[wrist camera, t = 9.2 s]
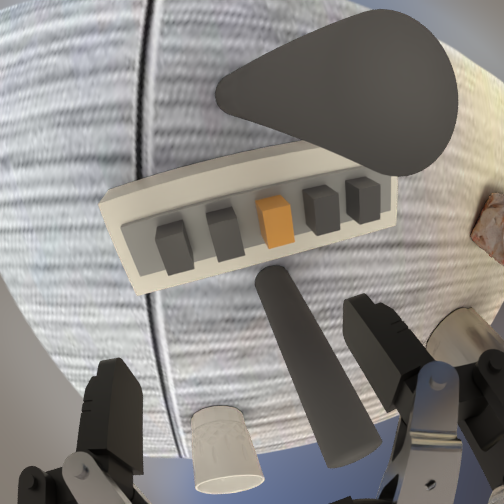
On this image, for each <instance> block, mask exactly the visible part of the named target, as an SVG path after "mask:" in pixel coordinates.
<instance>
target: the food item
mask: <svg viewBox="0 0 504 504" xmlns="http://www.w3.org/2000/svg"><path fill="white" fill-rule="evenodd" d="M491 194H492V195H489V198H488V200H487V202H486V203H485V205H484V207H483V209H482V211H481V214H480V216H479V218H478V220H477V222H476V224H475V227H474V229H473V231H472V233H471V236H470V237H472V240H473V241H474V242H475V243H476V244H477V245H478V246H479V247H480V248H482V249H483V250H485V251H486V252H487V253H488V254H489V256H490V257H493V258H494V259H495V260H496V261H498V262H499V263H500V264H502V265H503V266H504V195H503V194H500V193H491Z"/></svg>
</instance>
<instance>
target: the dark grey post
mask: <svg viewBox="0 0 504 504" xmlns="http://www.w3.org/2000/svg"><path fill="white" fill-rule="evenodd" d="M215 98H216V102H217V104H218V106H219V107H220V108H221V109H222V110H223V111H224V112H225V113H227V114H229V115H232V116H236V117H239V118H242V119H245V120H248V121H251V122H254V123H257V124H260V125H263V126H266V127H269V128H272V129H274V130H277V131H280V132H283V133H285V134H288V135H291V136H293V137H296V138H299V139H301V140H304V141H306V142H309V143H311V144H314V145H316V146H319V147H321V148H324V149H326V150H328V151H331V152H333V153H335V154H338V155H340V156H342V157H345V158H347V159H349V160H351V161H354V162H356V163H358V164H360V165H362V166H364V167H366V168H369V169H371V170H373V171H375V172H378V173H380V174H383V175H388V176H396V177H401V176H408V175H412V174H415V173H418V172H420V171H422V170H424V169H425V168H427V167H428V166H430V165H431V164H432V163H433V162H434V161H436V159H437V158H438V157H439V156H440V155H441V154H442V152H443V151H444V149H445V148H446V146H447V144H448V143H449V141H450V139H451V136H452V134H453V131H454V127H455V124H456V119H457V113H458V90H457V83H456V78H455V74H454V71H453V68H452V65H451V63H450V60H449V58H448V56H447V54H446V52H445V50H444V49H443V47H442V46H441V44H440V43H439V41H438V40H437V39H436V38H435V36H434V35H433V34H432V33H431V32H430V31H429V30H428V29H427V28H426V27H425V26H423V25H422V24H420V22H418V21H416V20H415V19H413V18H411V17H410V16H408V15H405V14H403V13H400V12H397V11H393V10H385V9H377V10H370V11H366V12H363V13H360V14H357V15H354V16H351V17H348V18H346V19H343V20H340V21H338V22H335V23H332V24H330V25H327V26H325V27H323V28H320V29H318V30H315V31H313V32H311V33H308V34H306V35H304V36H302V37H300V38H297V39H295V40H293V41H291V42H289V43H287V44H285V45H283V46H281V47H278V48H276V49H274V50H273V51H271V52H269V53H267V54H265V55H263V56H261V57H259V58H257V59H255V60H253V61H252V62H250V63H248V64H246V65H244V66H243V67H241V68H239V69H237V70H236V71H234V72H232V73H231V74H229V75H227V76H226V77H224V78H223V79H222V80H221V81H220V82H219V83H218V85H217V87H216V91H215Z"/></svg>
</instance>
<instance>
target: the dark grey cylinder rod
mask: <svg viewBox="0 0 504 504" xmlns="http://www.w3.org/2000/svg"><path fill="white" fill-rule="evenodd" d="M255 287H256V289H257V292H258V294H259V297H260V300H261V302H262V305H263V307H264V310H265V312H266V315H267V317H268V320H269V322H270V325H271V328H272V330H273V333H274V335H275V338H276V340H277V343H278V345H279V348H280V350H281V353H282V355H283V358H284V360H285V363H286V365H287V368H288V370H289V373H290V375H291V378H292V380H293V383H294V385H295V388H296V390H297V393H298V395H299V398H300V400H301V403H302V405H303V408H304V410H305V413H306V415H307V418H308V420H309V423H310V425H311V428H312V430H313V433H314V435H315V438H316V440H317V443H318V445H319V447H320V450H321V452H322V455H323V457H324V460H325V462H326V465H327V467H328V468H338V467H342V466H345V465H348V464H351V463H353V462H356V461H358V460H360V459H362V458H364V457H365V456H367V455H369V454H370V453H372V452H373V451H374V450H376V449H377V448H378V447H379V446H380V445H381V444H382V439H381V438H380V436H379V434H378V432H377V430H376V428H375V426H374V424H373V422H372V421H371V419H370V417H369V415H368V413H367V411H366V409H365V408H364V406H363V404H362V402H361V400H360V398H359V397H358V395H357V393H356V391H355V389H354V388H353V386H352V384H351V382H350V380H349V378H348V377H347V375H346V373H345V371H344V369H343V368H342V366H341V364H340V362H339V360H338V359H337V357H336V355H335V353H334V352H333V350H332V348H331V346H330V344H329V343H328V341H327V339H326V337H325V336H324V334H323V332H322V330H321V328H320V327H319V325H318V323H317V321H316V320H315V318H314V316H313V314H312V313H311V311H310V309H309V307H308V306H307V304H306V302H305V300H304V299H303V297H302V295H301V294H300V292H299V290H298V288H297V287H296V285H295V283H294V281H293V280H292V278H291V276H290V275H289V273H288V271H287V270H286V269H285V268H284V267H281V266H277V265H274V266H269V267H266V268H265V269H263V270H262V271H261V272H260V273H259V274H258V275H257V277H256V279H255Z"/></svg>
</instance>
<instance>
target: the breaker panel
mask: <svg viewBox="0 0 504 504" xmlns="http://www.w3.org/2000/svg"><path fill="white" fill-rule="evenodd" d="M397 187H398V177H396V176H388V175H383V174H380V173H378V172H375V171H373V170H371V169H369V168H366V167H364V166H362V165H360V164H358V163H356V162H354V161H351V160H349V159H347V158H345V157H342V156H340V155H338V154H335V153H333V152H331V151H328V150H326V149H324V148H321V147H319V146H316V145H314V144H311V143H309V142H306V141H304V140H302V141H296V142H291V143H285V144H280V145H275V146H269V147H264V148H260V149H255V150H250V151H245V152H241V153H236V154H232V155H228V156H223V157H219V158H215V159H211V160H207V161H203V162H199V163H195V164H192V165H188V166H184V167H180V168H177V169H173V170H170V171H166V172H163V173H159V174H156V175H153V176H149V177H146V178H143V179H140V180H136V181H133V182H130V183H127V184H124V185H121V186H118V187H115V188H112V189H109V190H108V191H107V193H106V194H105V195H104V197H103V198H102V199H101V201H100V202H99V203H98V206H99V208H100V211H101V214H102V216H103V219H104V221H105V224H106V227H107V229H108V232H109V234H110V237H111V239H112V241H113V244H114V246H115V249H116V251H117V253H118V256H119V258H120V260H121V262H122V265H123V267H124V269H125V271H126V274H127V276H128V278H129V280H130V282H131V284H132V287H133V289H134V291H135V293H136V295H137V296H139V295H142V294H146V293H150V292H154V291H158V290H162V289H166V288H169V287H173V286H177V285H181V284H185V283H189V282H192V281H196V280H200V279H204V278H207V277H211V276H215V275H219V274H222V273H226V272H230V271H234V270H237V269H241V268H245V267H249V266H252V265H256V264H260V263H263V262H267V261H271V260H274V259H278V258H282V257H285V256H289V255H293V254H296V253H300V252H303V251H307V250H311V249H314V248H318V247H321V246H325V245H329V244H332V243H336V242H339V241H343V240H346V239H350V238H353V237H357V236H360V235H364V234H367V233H371V232H374V231H378V230H381V229H385V228H388V227H392V226H395V225H396V218H397Z"/></svg>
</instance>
